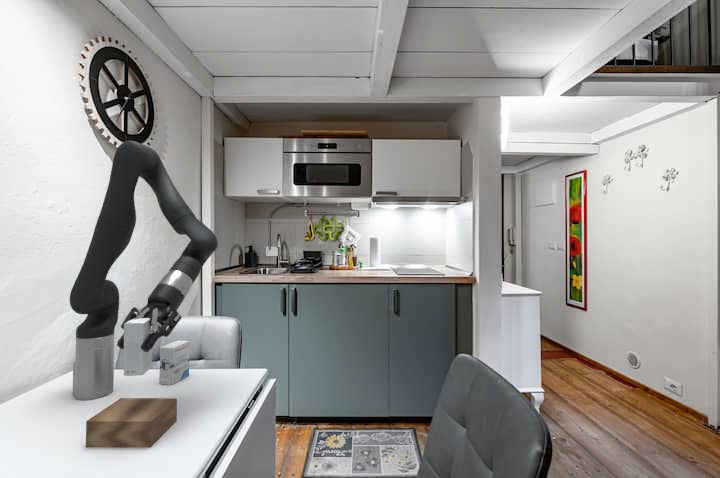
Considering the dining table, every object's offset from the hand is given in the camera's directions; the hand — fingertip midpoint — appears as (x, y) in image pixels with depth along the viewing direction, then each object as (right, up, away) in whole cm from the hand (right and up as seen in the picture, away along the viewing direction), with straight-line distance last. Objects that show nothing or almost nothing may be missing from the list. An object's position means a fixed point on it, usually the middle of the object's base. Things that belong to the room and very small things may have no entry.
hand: (132, 348), depth 86 cm
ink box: (-7, -21, +34) cm, 41 cm away
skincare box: (0, -6, +2) cm, 6 cm away
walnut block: (0, -20, +1) cm, 20 cm away
